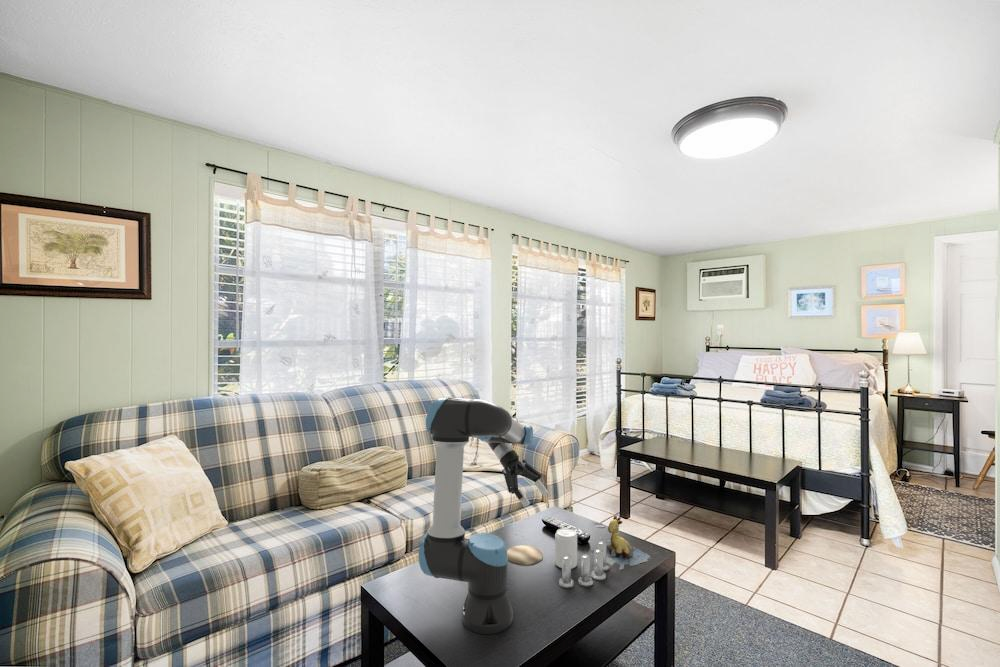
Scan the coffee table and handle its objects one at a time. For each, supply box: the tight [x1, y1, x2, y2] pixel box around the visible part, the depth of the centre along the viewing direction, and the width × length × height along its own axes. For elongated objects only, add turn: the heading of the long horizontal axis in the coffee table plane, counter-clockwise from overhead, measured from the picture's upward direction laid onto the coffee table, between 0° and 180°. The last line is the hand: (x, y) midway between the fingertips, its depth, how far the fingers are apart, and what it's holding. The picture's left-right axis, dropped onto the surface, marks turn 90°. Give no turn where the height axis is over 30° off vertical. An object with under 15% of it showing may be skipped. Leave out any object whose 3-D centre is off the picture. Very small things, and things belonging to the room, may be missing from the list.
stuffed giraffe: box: [589, 515, 652, 571], centre depth 172 cm, size 16×18×16 cm
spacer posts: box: [558, 540, 610, 589], centre depth 157 cm, size 23×12×9 cm, turn 142°
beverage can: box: [554, 527, 578, 570], centre depth 165 cm, size 8×8×12 cm
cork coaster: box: [507, 545, 543, 566], centre depth 171 cm, size 14×14×1 cm
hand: (537, 500), depth 173 cm, fingers open, 13 cm apart
